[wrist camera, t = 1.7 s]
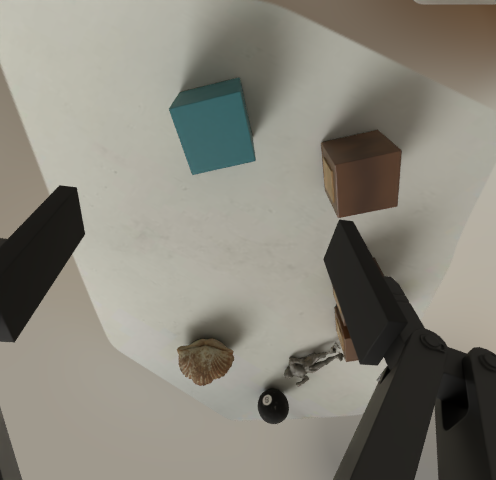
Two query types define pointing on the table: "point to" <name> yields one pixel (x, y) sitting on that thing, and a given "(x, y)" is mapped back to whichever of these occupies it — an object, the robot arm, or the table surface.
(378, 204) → the walnut block
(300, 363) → the figurine
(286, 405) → the billiard ball
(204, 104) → the teal block
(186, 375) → the seashell
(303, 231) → the table surface
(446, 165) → the table surface
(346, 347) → the walnut block
